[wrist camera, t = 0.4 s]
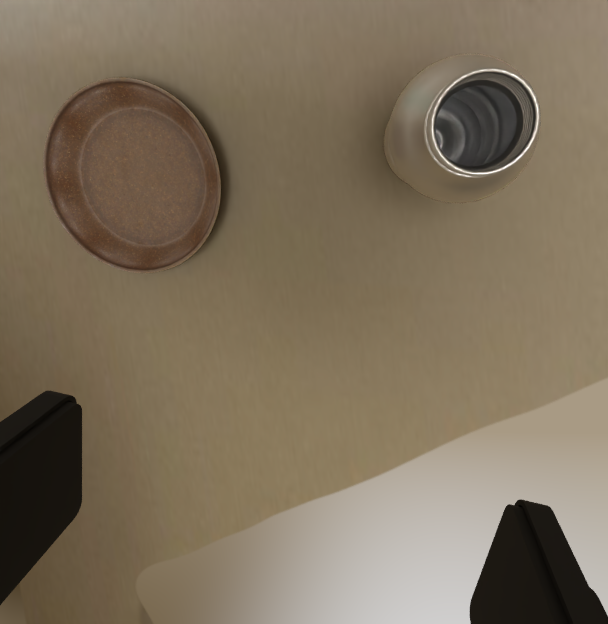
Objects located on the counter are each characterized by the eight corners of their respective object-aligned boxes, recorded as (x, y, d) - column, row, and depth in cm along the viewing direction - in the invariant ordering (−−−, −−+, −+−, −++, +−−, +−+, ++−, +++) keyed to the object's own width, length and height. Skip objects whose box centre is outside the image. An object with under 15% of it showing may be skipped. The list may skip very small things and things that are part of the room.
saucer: (202, 291, 42) (191, 300, 40) (50, 230, 43) (29, 234, 40) (254, 122, 37) (244, 119, 35) (80, 54, 38) (58, 47, 35)
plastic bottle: (390, 90, 35) (400, 10, 16) (486, 99, 34) (615, 24, 15) (377, 182, 37) (372, 206, 18) (467, 192, 36) (560, 228, 17)
